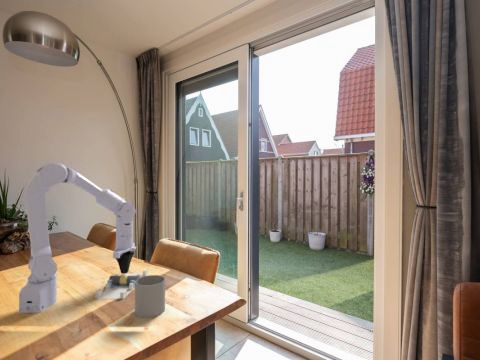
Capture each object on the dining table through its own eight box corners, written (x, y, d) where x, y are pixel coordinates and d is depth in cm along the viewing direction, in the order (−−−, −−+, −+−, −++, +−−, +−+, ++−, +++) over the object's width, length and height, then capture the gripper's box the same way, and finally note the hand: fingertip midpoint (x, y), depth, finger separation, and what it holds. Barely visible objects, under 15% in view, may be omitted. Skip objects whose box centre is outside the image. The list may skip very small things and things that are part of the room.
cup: (154, 305, 89) (154, 273, 89) (170, 313, 84) (171, 279, 84) (129, 315, 83) (129, 280, 83) (145, 324, 77) (145, 287, 77)
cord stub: (140, 282, 105) (140, 274, 105) (136, 286, 102) (137, 277, 102) (112, 282, 105) (112, 274, 105) (108, 286, 102) (108, 276, 102)
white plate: (123, 302, 91) (123, 290, 91) (94, 301, 91) (94, 290, 91) (147, 276, 115) (147, 267, 115) (124, 276, 115) (125, 267, 115)
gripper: (127, 239, 96) (127, 280, 96) (142, 231, 110) (142, 266, 111) (106, 239, 96) (106, 279, 96) (124, 231, 110) (124, 266, 110)
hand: (124, 272), depth 103 cm, fingers closed
